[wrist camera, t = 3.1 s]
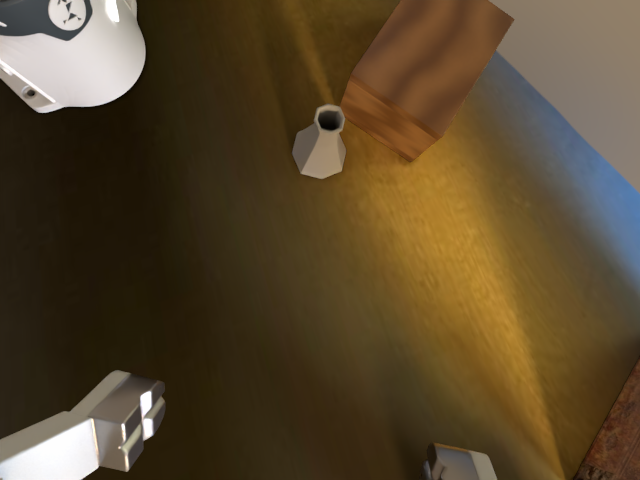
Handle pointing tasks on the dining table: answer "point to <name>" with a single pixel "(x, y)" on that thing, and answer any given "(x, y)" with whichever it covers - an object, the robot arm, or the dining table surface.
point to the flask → (321, 144)
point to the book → (617, 438)
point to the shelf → (422, 70)
